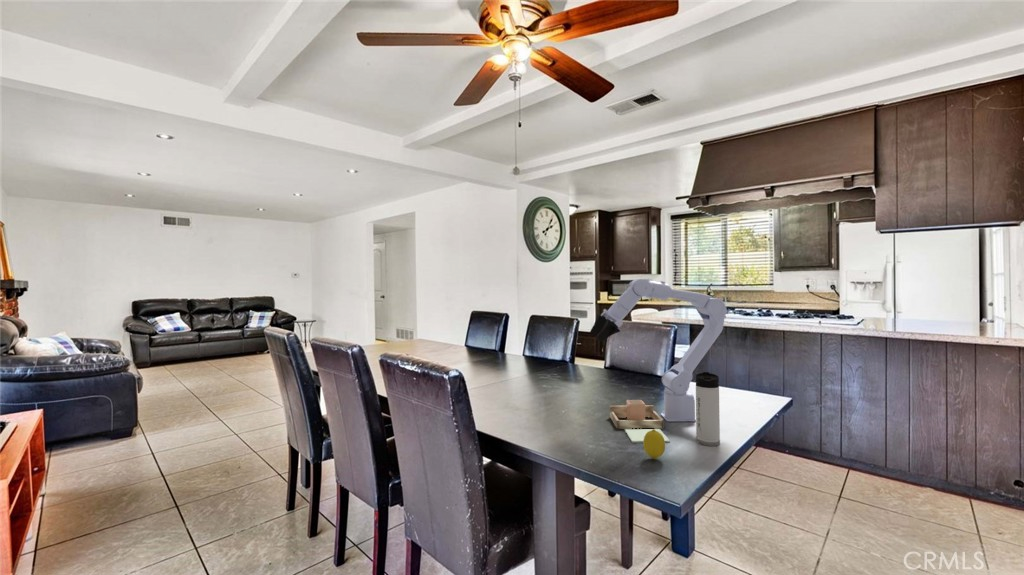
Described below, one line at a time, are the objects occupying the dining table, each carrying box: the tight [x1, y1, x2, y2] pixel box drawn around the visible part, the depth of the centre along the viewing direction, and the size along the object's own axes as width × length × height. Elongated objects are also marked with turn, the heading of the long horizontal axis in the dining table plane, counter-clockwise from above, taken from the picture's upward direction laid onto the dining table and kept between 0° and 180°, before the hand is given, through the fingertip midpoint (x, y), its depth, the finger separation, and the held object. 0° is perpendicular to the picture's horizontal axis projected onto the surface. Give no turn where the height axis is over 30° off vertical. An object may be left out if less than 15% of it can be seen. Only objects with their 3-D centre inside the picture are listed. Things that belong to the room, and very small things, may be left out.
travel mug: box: [695, 371, 721, 447], centre depth 128 cm, size 6×7×20 cm
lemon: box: [642, 428, 666, 460], centre depth 116 cm, size 6×6×8 cm
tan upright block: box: [625, 399, 646, 420], centre depth 146 cm, size 5×5×7 cm
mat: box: [624, 428, 671, 444], centre depth 133 cm, size 11×10×1 cm
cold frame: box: [609, 404, 665, 430], centre depth 146 cm, size 15×12×4 cm
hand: (595, 337), depth 149 cm, fingers open, 7 cm apart
